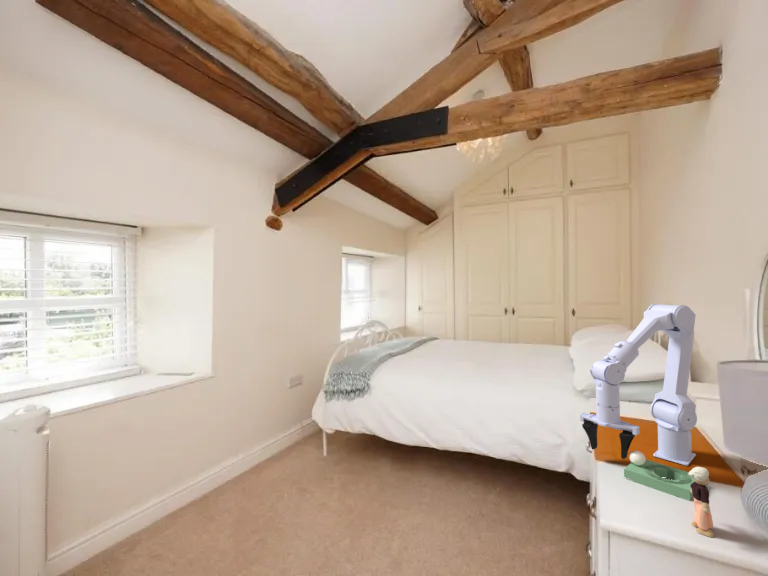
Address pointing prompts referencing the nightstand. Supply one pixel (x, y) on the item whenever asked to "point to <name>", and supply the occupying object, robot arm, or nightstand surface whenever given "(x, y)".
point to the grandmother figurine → (701, 501)
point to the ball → (637, 458)
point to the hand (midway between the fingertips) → (608, 452)
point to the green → (653, 475)
